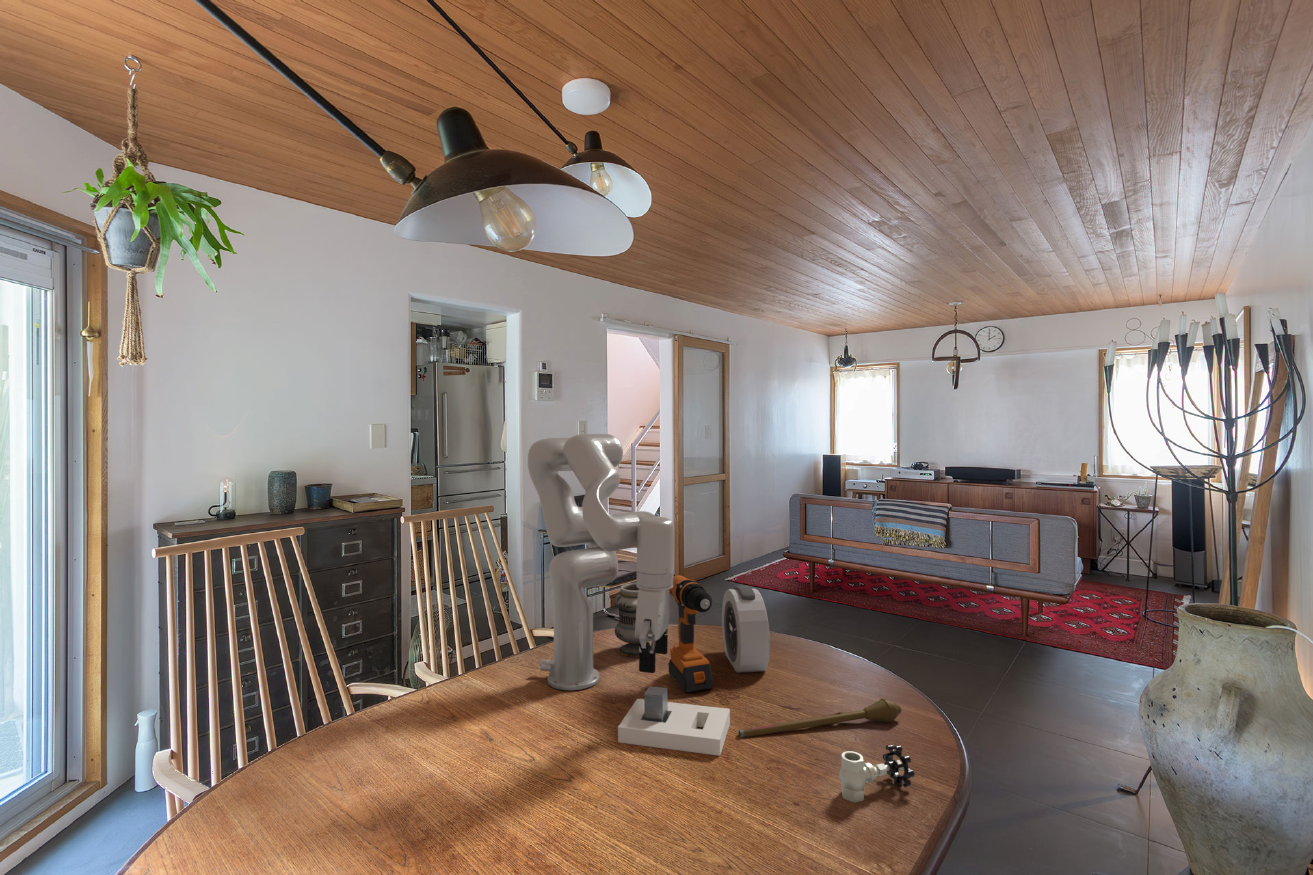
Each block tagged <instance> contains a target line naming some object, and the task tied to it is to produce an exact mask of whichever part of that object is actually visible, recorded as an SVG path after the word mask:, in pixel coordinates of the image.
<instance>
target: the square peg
mask: <svg viewBox="0 0 1313 875" xmlns="http://www.w3.org/2000/svg"><path fill="white" fill-rule="evenodd" d="M643 696H644V697H643V699H644V720H646V721H655V722H663V723H666V721H667V719H668V702H669V701H668V688H667V687H660V686H651V685H650V686H648V688H647V690H646V691H645V692H644V694H643Z"/></svg>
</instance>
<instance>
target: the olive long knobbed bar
mask: <svg viewBox="0 0 1313 875" xmlns="http://www.w3.org/2000/svg"><path fill="white" fill-rule="evenodd" d="M901 713H902V708H901V705H899V704H898V703H895V702H894V701H891V700H889V699H887V698H880V699H879V700H878V701H876V702H873V703H871V704H870V705H868V706H865V707H864V708H863V709H862V710H856V711H843V712H840V711H839V712H833V713H830V714H826V715H821V716H818V717H813V718H812V717H811V718H806V719H799V720H793V721H788V722H787V721H786V722H780V723H775V724H768V725H762V726H756V727H755V726H754V727H747V728H742V729H738V732H737V733H738V736H739V737H740V739H744V738H751V737H752V738H753V737H757V736H763V735H769V734H776V733H781V732H782V733H783V732H789V731H795V730H800V729H806V728H813V727H818V726H819V727H820V726H824V725H825V726H826V725H832V724H837V723H844V722H850V721H857V720H862V719H865V720H867V721H876V722H882V723H887V724H890V723H893V722H894V720H896V719H897V718H898V716H900V714H901Z"/></svg>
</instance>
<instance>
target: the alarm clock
mask: <svg viewBox="0 0 1313 875" xmlns="http://www.w3.org/2000/svg"><path fill="white" fill-rule="evenodd" d="M764 601H765V600H764V599H763V597H762V594H761V593H760V591H759V590H758V589H756V588H752V587H751V586H750V585H747V584H746V585H734V586H733V588H729V589H726V590H725V593H724V595H723V598H722V607H721V630H722V642H723V646H724V648H723V649H724V655H725V656H726V657H727V659H728V660H729V662H730V664H731V665H732V667H733V669H734V671H735V672H736V673H737V674H738V673H752V672H753V673H754V672H766V671H767V669H768V665H769V662H770V655H771V654H770V653H771V652H770V651H771V640H770V626H769V625H770V624H769V619H768V613H767V609H766V608H767V607H766V605H765V602H764Z"/></svg>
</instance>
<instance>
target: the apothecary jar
mask: <svg viewBox="0 0 1313 875" xmlns="http://www.w3.org/2000/svg"><path fill="white" fill-rule="evenodd" d="M638 592H639V588H638V587H637V586H636V582H631V583H625V584H623V585H622V586H620V591H619V592H618V594H617V595H616V597H615V599H614V604H615V607H616V608H617V609H618V623H617V624H616V625H615V627H614V635H615V636H616V638H617V639H618V640H620V641H621V642H623V643H625V644H623V645H620V647H618V653H619V654H620V655H622V656H625V657H633V658H639V647H640V646H639V643H640V640H639V639H637V638H636V637H635V626H636V609H637V599H638ZM648 636H652V635H648ZM647 642H649V643H650V641H647ZM650 646H651V644H650Z"/></svg>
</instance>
